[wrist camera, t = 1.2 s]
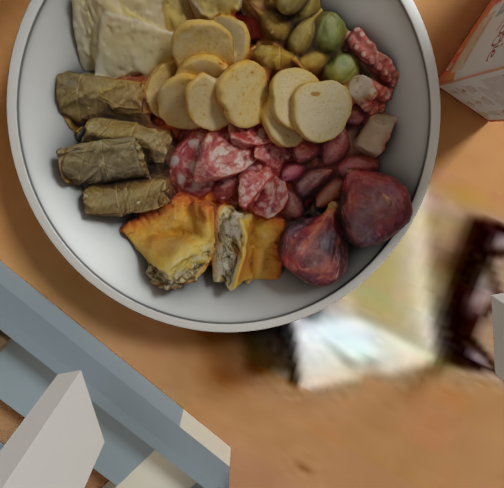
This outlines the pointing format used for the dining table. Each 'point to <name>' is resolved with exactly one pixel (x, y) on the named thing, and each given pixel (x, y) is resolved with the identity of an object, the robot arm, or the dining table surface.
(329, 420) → the dining table surface
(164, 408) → the box
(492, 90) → the cracker box
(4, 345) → the block
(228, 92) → the bowl
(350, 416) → the dining table surface
